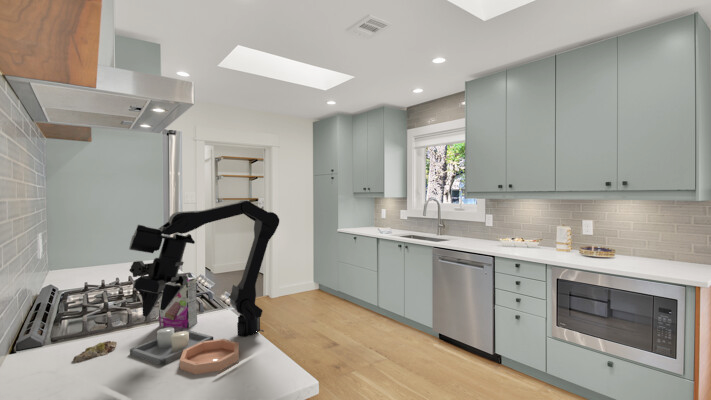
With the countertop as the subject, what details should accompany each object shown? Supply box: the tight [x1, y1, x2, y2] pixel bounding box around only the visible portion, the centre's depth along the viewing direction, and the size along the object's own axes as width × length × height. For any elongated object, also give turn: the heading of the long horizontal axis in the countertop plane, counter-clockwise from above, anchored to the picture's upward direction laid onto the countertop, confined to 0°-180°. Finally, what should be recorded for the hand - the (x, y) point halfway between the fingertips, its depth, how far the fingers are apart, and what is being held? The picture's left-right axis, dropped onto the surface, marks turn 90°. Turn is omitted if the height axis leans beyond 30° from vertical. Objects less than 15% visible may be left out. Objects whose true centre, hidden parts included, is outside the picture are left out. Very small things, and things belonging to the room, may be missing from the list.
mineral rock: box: [72, 340, 117, 363], centre depth 98 cm, size 11×4×8 cm
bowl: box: [179, 338, 240, 375], centre depth 94 cm, size 14×14×3 cm
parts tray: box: [129, 328, 214, 366], centre depth 101 cm, size 16×14×2 cm
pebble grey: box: [156, 327, 175, 349], centre depth 103 cm, size 4×4×4 cm
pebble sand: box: [171, 331, 189, 353], centre depth 100 cm, size 4×4×4 cm
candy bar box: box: [158, 276, 198, 329], centre depth 118 cm, size 11×5×16 cm, turn 79°
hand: (154, 312), depth 96 cm, fingers open, 9 cm apart
